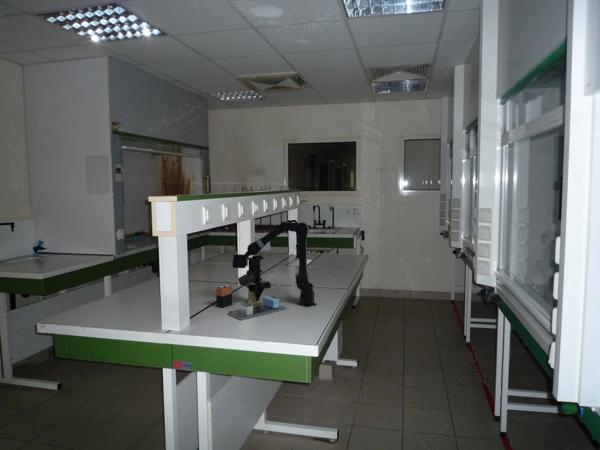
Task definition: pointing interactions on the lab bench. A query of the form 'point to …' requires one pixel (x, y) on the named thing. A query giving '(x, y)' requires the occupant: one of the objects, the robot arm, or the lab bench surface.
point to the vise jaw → (270, 301)
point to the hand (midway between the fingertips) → (255, 299)
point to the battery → (224, 296)
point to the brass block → (253, 298)
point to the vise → (252, 310)
